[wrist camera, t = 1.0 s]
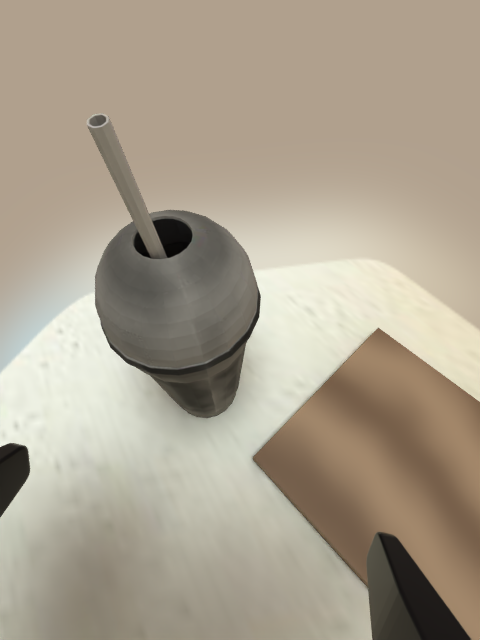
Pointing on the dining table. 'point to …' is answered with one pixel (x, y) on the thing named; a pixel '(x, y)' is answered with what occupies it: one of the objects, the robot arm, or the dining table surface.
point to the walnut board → (390, 468)
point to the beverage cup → (174, 294)
